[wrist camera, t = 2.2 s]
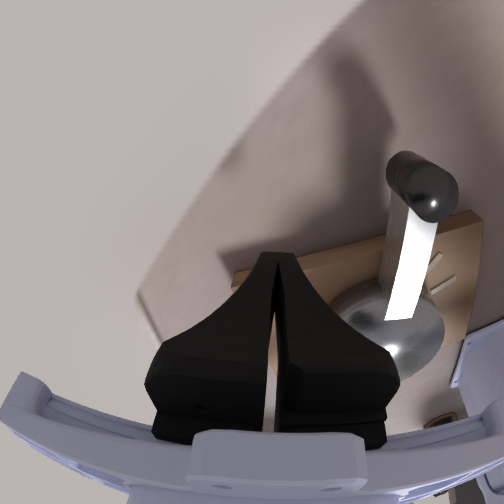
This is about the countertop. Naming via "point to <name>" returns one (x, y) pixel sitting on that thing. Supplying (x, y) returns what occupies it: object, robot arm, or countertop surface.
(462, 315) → the wooden board
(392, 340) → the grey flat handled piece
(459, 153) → the countertop surface
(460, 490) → the liquor
